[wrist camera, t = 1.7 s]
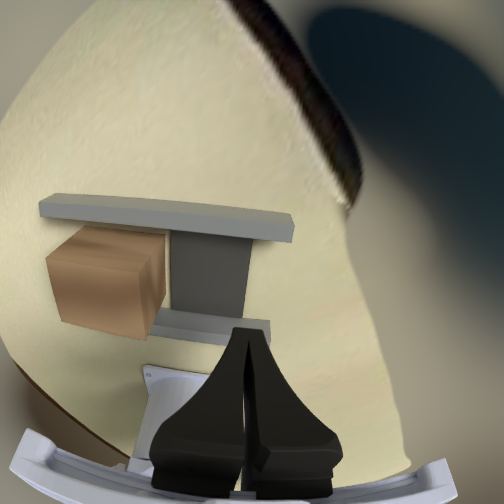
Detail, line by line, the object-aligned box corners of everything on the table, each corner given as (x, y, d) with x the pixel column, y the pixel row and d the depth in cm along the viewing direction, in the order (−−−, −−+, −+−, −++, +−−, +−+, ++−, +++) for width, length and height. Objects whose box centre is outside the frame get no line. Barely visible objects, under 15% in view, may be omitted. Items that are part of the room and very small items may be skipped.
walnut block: (166, 293, 20) (145, 340, 15) (93, 281, 19) (61, 321, 15) (165, 233, 18) (138, 273, 13) (85, 225, 18) (45, 258, 13)
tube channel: (267, 330, 21) (268, 349, 19) (72, 300, 20) (60, 315, 18) (290, 214, 17) (294, 226, 15) (55, 193, 16) (38, 201, 15)
